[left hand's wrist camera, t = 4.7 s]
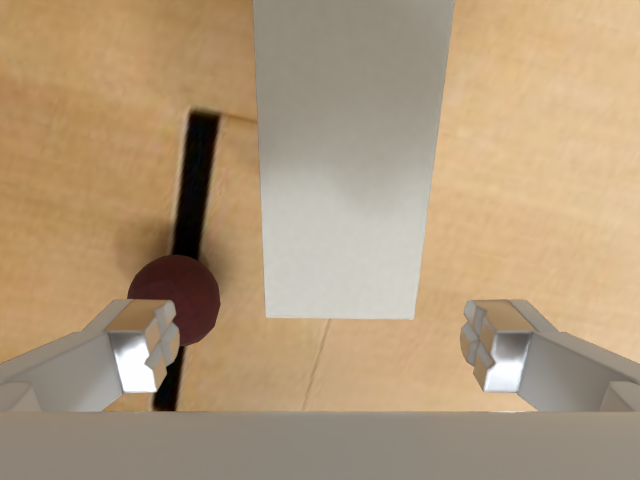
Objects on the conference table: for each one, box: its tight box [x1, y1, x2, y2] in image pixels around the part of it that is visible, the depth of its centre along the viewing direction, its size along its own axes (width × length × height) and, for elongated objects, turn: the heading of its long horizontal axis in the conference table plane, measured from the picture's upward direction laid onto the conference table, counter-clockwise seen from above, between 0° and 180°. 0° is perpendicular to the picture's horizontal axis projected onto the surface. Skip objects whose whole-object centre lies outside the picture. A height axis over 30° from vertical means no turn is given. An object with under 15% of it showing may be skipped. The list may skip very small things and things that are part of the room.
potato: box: [127, 255, 220, 346], centre depth 31 cm, size 7×8×7 cm
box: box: [253, 0, 455, 319], centre depth 17 cm, size 25×6×13 cm, turn 179°
